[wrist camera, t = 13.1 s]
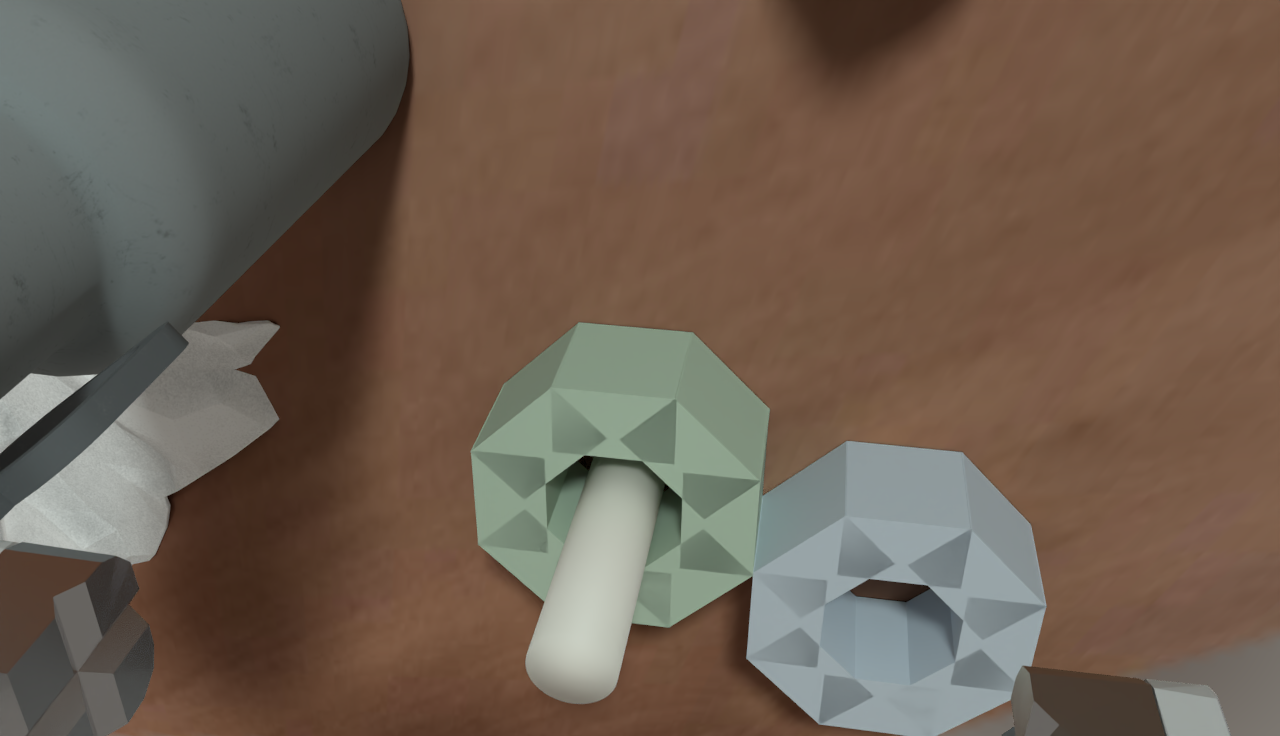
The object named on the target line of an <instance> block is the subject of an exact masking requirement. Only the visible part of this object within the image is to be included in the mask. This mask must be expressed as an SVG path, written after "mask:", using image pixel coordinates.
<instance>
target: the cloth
mask: <svg viewBox="0 0 1280 736" xmlns="http://www.w3.org/2000/svg"><path fill="white" fill-rule="evenodd" d="M279 328H280V326H279V325H276V324H274V323H272V322H270V321H269V320H265V321H248V322H243V323H231V322H223V321H206V322H194V323H193V324H192V325H191V326H190V327H189V328H188V329H187V330H186V331H185V332H184V333H183V334H182V336H183V337H184V338H185V339H186V340H187V341H188V342H189V344H188V346H187V347H186V348H185V349H184V351H183V352H182V353H181V354H180V355H179V356H178V357H177V358H176V359H175V360H174V361H173V362H172V363H171V364H170V365H169V366H168V367H167V368H166V369H165V370H164V371H163V372H162V373H161V374H160V375H159V376H158V377H157V378H156V379H155V380H154V381H153V382H152V383H151V385H150V386H149V387H148V388H147V389H146V390H145V391H144V392H143V393H142V394H141V395H140V396H139V397H138V398H137V399H136V400H135V401H134V402H133V403H132V404H131V405H130V406H129V407H128V408H127V409H126V410H125V411H124V412H123V413H122V414H121V415H120V416H119V417H118V418H117V419H116V420H115V421H114V422H113V423H112V424H111V425H110V426H109V427H108V428H107V429H106V430H105V431H104V432H103V433H102V434H101V435H100V436H99V437H98V438H97V439H96V440H95V441H94V442H93V443H92V444H91V445H90V446H89V447H88V448H86V449H85V450H84V451H83V452H82V453H81V454H80V455H79V456H77V457H76V458H75V459H74V460H73V461H72V462H71V463H69V464H68V465H67V466H66V467H65V468H64V469H62V470H61V471H60V472H59V473H58V474H56V475H55V476H54V477H53V478H51V479H50V480H49V481H48V482H47V483H45V484H44V485H43V486H41V487H40V488H39V489H37V490H36V491H35V492H33V493H32V494H31V495H29V496H28V497H26V498H25V499H24V500H22V501H21V502H20V503H18V504H17V505H15V506H14V507H13V508H12V509H11V510H10V511H9V512H8V513H7V514H6V515H5V516H4V517H3V518H2V519H1V520H0V540H4V541H11V542H17V543H21V542H26V543H33V544H39V545H46V546H53V547H60V548H66V549H73V550H80V551H87V552H94V553H100V554H107V555H114V556H118V557H120V558H122V559H125V560H127V561H129V562H131V565H132V564H136V563H141V562H146V561H150V560H151V558H152V557H153V556H154V555H155V554H156V552H157V550H158V547H159V545H160V543H161V541H162V538H163V536H164V534H165V531H166V529H167V527H168V521H169V514H170V506H171V505H170V503H169V500H168V498H167V496H168V495H171V494H173V493H175V492H177V491H179V490H181V489H182V488H184V487H185V486H187V485H188V484H190V483H192V482H193V481H195V480H196V479H198V478H200V477H201V476H203V475H204V474H206V473H208V472H209V471H211V470H212V469H214V468H215V467H217V466H219V465H220V464H222V463H223V462H225V461H227V460H228V459H230V458H231V457H233V456H234V455H236V454H237V453H238V452H240V451H241V450H242V449H244V448H245V447H246V446H247V445H249V444H250V443H251V442H253V441H254V440H255V439H257V438H258V437H259V436H261V435H262V434H263V433H265V432H266V431H267V430H269V429H270V428H271V427H272V426H273V425H274V424H275V423H276V422H277V421H278V420H279V417H278V416H277V414H276V412H275V410H274V408H273V406H272V404H271V403H270V401H269V399H268V397H267V395H266V393H265V392H264V390H263V388H262V386H261V385H260V383H259V381H258V379H257V377H256V376H254V375H251V374H248V373H244V372H241V371H238V370H235V369H238V368H241V367H244V366H247V365H249V364H251V363H252V361H253V360H254V358H255V356H256V355H257V354H258V353H259V351H260V350H261V349H262V348H263V347H264V346H265V344H266V343H267V342H268V341H269V340H270V339H271V337H272V336H273V335H274V334H275V333H276V332H277V330H278V329H279ZM96 375H97V374H96ZM96 375H81V376H62V377H57V376H48V375H40V374H32V373H30V374H29V375H28V376H27V377H26V378H25V379H23V380H22V381H21V382H20V383H19V384H18V385H16V386H15V387H14V388H13V389H12V390H11V391H9V392H8V393H7V394H6V395H5V396H4V397H2V398H1V399H0V453H1V452H3V451H4V450H5V449H6V448H7V447H8V446H9V445H10V444H12V443H13V442H14V441H15V440H16V439H17V438H18V437H20V436H21V435H22V434H23V433H24V432H25V431H27V430H28V429H29V428H30V427H31V426H33V425H34V424H35V423H36V422H37V421H39V420H40V419H41V418H42V417H43V416H45V415H46V414H47V413H48V412H50V411H51V410H52V409H53V408H55V407H56V406H57V405H59V404H60V403H61V402H63V401H64V400H65V399H66V398H68V397H69V396H70V395H72V394H73V393H74V392H75V391H77V390H78V389H79V388H81V387H82V386H83V385H85V384H86V383H87V382H88V381H90V380H91V379H92V378H94V377H95V376H96Z"/></svg>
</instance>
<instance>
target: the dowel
mask: <svg viewBox="0 0 1280 736" xmlns="http://www.w3.org/2000/svg"><path fill="white" fill-rule="evenodd" d="M664 486H665V482H664V481H663V480H662V479H661V478H660V477H659V476H657V475H656V474H655V473H654V472H653V471H652V470H651V469H650V468H649V467H648V466H647V465H646V464H645V463H644V462H643V461H636V460H626V459H616V458H607V457H597V456H594V457H593V460H592V463H591V466H590V469H589V472H588V475H587V478H586V481H585V484H584V487H583V490H582V493H581V496H580V499H579V502H578V505H577V508H576V511H575V513H574V516H573V519H572V522H571V525H570V528H569V531H568V534H567V537H566V540H565V543H564V546H563V549H562V552H561V555H560V558H559V561H558V564H557V567H556V570H555V573H554V576H553V578H552V581H551V584H550V587H549V590H548V593H547V596H546V599H545V602H544V605H543V608H542V611H541V614H540V617H539V620H538V623H537V626H536V629H535V632H534V635H533V638H532V641H531V644H530V646H529V649H528V652H527V655H526V662H525V665H526V670H527V673H528V675H529V677H530V679H531V680H532V682H533V683H534V684H535V685H536V686H537V687H538V688H539V689H540V690H541V691H543V692H544V693H545V694H547V695H549V696H550V697H553V698H555V699H557V700H560V701H563V702H567V703H573V704H588V703H593V702H597V701H600V700H602V699H604V698H605V697H607V696H608V695H609V694H610V693H611V692H612V691H613V690H614V689H615V687H616V684H617V681H618V677H619V673H620V669H621V664H622V660H623V656H624V652H625V648H626V644H627V640H628V635H629V631H630V627H631V623H632V619H633V615H634V611H635V606H636V602H637V598H638V594H639V590H640V586H641V582H642V577H643V573H644V569H645V565H646V561H647V557H648V553H649V548H650V544H651V540H652V536H653V532H654V528H655V523H656V519H657V515H658V511H659V507H660V503H661V499H662V494H663V490H664Z"/></svg>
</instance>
